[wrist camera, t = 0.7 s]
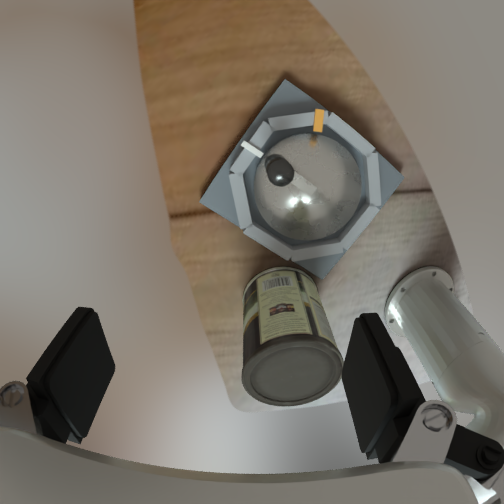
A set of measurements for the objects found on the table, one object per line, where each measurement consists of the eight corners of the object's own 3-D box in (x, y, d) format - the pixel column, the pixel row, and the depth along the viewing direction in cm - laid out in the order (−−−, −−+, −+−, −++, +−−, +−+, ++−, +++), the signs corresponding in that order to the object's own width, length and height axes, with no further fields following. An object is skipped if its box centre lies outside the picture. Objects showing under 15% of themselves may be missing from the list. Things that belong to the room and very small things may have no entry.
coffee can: (272, 339, 44) (279, 417, 31) (227, 294, 40) (219, 373, 28) (331, 303, 41) (360, 378, 29) (291, 250, 38) (312, 321, 25)
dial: (377, 176, 32) (400, 189, 27) (316, 254, 37) (327, 280, 31) (296, 111, 30) (306, 110, 24) (232, 199, 34) (229, 217, 28)
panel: (400, 175, 34) (411, 180, 31) (320, 275, 39) (324, 286, 37) (283, 80, 29) (287, 77, 26) (200, 199, 35) (196, 206, 32)
